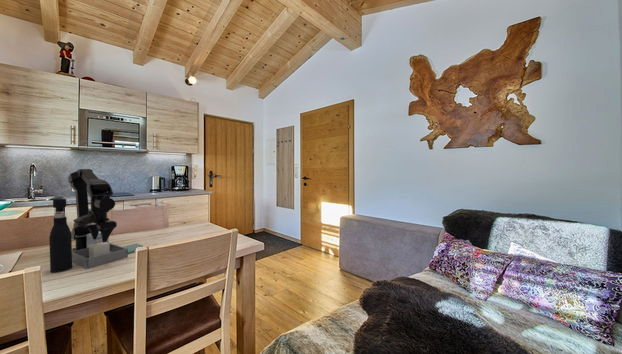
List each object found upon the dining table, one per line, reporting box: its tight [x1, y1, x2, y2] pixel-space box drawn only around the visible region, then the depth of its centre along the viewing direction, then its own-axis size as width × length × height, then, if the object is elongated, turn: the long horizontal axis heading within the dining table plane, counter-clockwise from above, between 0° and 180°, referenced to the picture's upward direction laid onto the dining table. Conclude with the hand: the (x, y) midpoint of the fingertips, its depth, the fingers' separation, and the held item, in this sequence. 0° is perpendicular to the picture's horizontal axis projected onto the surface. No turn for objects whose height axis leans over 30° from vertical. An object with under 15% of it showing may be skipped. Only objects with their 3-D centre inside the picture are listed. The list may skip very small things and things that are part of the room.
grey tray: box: [72, 242, 129, 270], centre depth 112 cm, size 17×15×4 cm
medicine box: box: [87, 231, 110, 248], centre depth 124 cm, size 8×4×9 cm, turn 172°
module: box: [88, 242, 111, 259], centre depth 112 cm, size 4×6×7 cm
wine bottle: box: [48, 198, 73, 274], centre depth 99 cm, size 6×6×30 cm
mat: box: [123, 243, 144, 255], centre depth 125 cm, size 11×9×1 cm
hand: (99, 240), depth 112 cm, fingers open, 9 cm apart
